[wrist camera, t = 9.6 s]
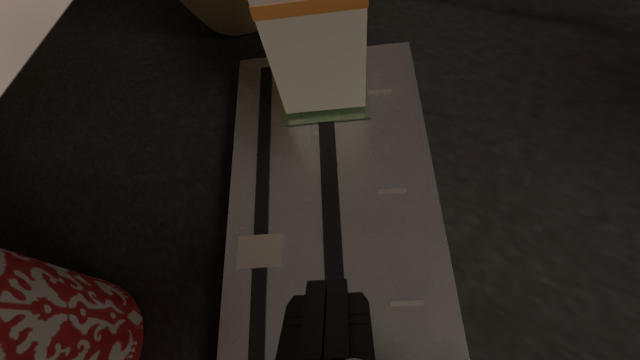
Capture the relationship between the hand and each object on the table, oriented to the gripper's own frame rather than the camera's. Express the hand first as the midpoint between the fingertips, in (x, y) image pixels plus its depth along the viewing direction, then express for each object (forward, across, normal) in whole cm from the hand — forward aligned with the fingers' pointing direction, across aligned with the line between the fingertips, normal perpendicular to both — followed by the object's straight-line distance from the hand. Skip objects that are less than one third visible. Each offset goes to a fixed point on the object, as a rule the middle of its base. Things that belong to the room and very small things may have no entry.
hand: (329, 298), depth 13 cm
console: (+9, 0, 0) cm, 9 cm away
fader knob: (+13, 0, -7) cm, 14 cm away
